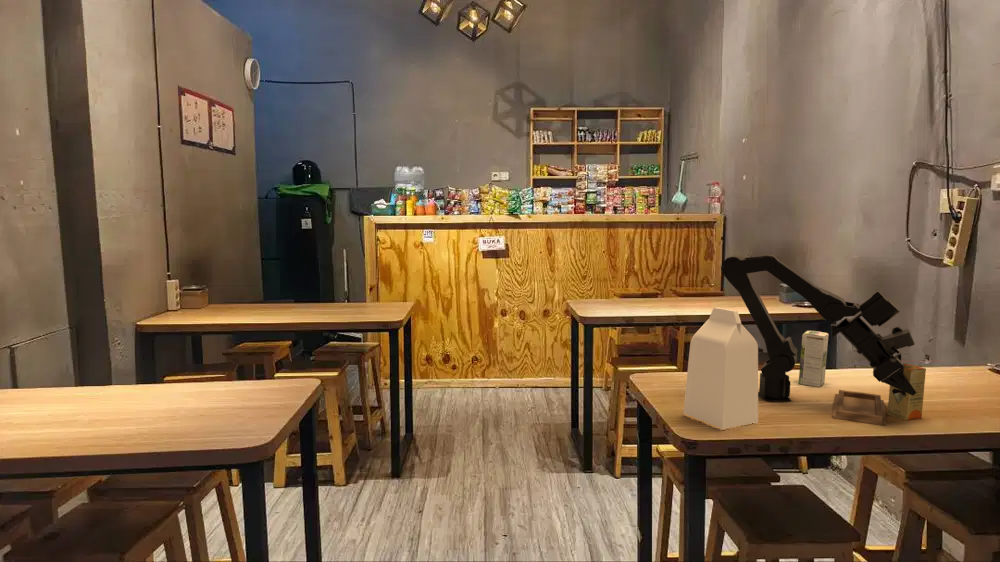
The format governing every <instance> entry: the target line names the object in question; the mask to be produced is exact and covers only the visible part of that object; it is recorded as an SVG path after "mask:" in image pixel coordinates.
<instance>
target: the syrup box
mask: <svg viewBox="0 0 1000 562" xmlns="http://www.w3.org/2000/svg"><path fill="white" fill-rule="evenodd" d="M829 336H830V335H829V333H828V332H822V331H818V330H817V331H816V330H806V331H805V332H804V333H802V335H801V337H802V338H801V349H800V358H799V359H800V362H799V375H798V384H799V385H803V386H804V385H805V386H809V387H817V388H821V387H822V386H823V385H824V384H825V381H826V369H827V368H826V367H827V358H828V357H827V355H828V345H829V344H828V342H829Z"/></svg>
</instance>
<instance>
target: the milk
mask: <svg viewBox="0 0 1000 562" xmlns="http://www.w3.org/2000/svg"><path fill="white" fill-rule="evenodd" d="M758 392H759V345H758V341H757V340H756V339H755V337H754V336H753V335H752V334H751V333H750V332H749V331H748V329H747V328H745V326H744V325H743V324H742V320H741V318H740V314H739V311H738V310H735V309H730V308H724V307H723V308H722V307H719V306H718V307H716V306H715V307H713V308H712V311H711V313H710V314H709V318H708V319H707V320H706V321H705V322H704V323H703V325H702V326H701V327H700V328H699V329H698V330H697V331H696V332H695V333H694V334H693V336H692V337H691V339H690V344H689V353H688V364H687V374H686V383H685V391H684V394H685V395H684V403H683V404H684V405H683V412H682V414H683V413H684V414H687V415H689V416H692V417H694V418H696V419H699V420H702V421H704V422H707V423H709V424H712V425H714V426H717V427H719V428H721V429H726V428H730V427H736V426H741V425H747V424H752V423H756V424H759V396H758ZM752 425H753V424H752Z"/></svg>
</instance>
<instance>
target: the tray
mask: <svg viewBox="0 0 1000 562" xmlns="http://www.w3.org/2000/svg"><path fill="white" fill-rule="evenodd" d="M831 418H832V419H838V420H844V421H851V422H856V423H864V424H870V425H871V424H872V425H879V426H887V421H886V420H887V419H886V410H885V400H884V399H882V398H881V394H875V393H866V392H860V391H852V390H844V389H838V393H834V400H833V407H832V414H831Z"/></svg>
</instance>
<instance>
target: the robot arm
mask: <svg viewBox="0 0 1000 562" xmlns="http://www.w3.org/2000/svg"><path fill="white" fill-rule="evenodd" d="M720 270H721V273H722V274H723V277H725V278H726V280H727V281H728V282H729V284H730V285H732V287H733V288H734V289H735V290H736V291H737V292H738V293H739V296H740V297H741V299H742V301H743V303H744V304H745V306H746V309H747V310H748V312H749V314H750V316H751V318H752V320H753V321H754V323H755V326H756V328H757V329H758V331H759V333H760V334H761V336H762V339H763V340H764V343H765V348H766V353H767V355H768V356H767V357H768V359H767V360H766V361H765V362H764V363H763V365H762V367H761V369H760V373H759V385H758V397H759V398H761V399H762V400H764V401H766V402H791V401H792V398H791V397H790V396H791V380H790V375H788V374H787V373H789V372H791V371H792V370H793V369H794V368H795V366H796V363H797V360H798V354H797V353H798V351H799V350H798V348H797V347H795V345H794V343H793V341H792V337H791V336H788V337H786V338H785V337H784V336H783V335H782V334H781V333H780V331H779V329H778V328H777V326H776V324H775V322H774V320H773V318H772V317H771V315H770V313H769V311H768V309H767V306H766V305H765V304H764V301H763V299H762V297H761V296H760V294H759V292H758V291H757V288H756V287H755V284H754V280H753V276H752V273H753V274H754V273H759V272H768V273H769V274H771V275H773V277H775V278H776V279H778V281H780V282H782V283H783V284H784V285H786V286H787V287H788V288H790V289H792V290H793V291H794V292H796V293H797V294H799V295H800V296H801V297H802V298H804V299H805V300H807V302H808V303H809V304H810V305H811V306H812V307H813V309H815V311H816V312H817V313H818V314H819V315H821V317H822V318H823V319H824V320H826V321H828V322H838V323H837V324H834V323H831V325H830V326H831V327H830V329H831V334H830V335H831V337H835V336H836V335H837V336H838V334H839V333H840V334H841V335H842V336H843V337H844V338H845V339H846V341H848V342H849V343H850V344H851V346H853V347H854V348H855V350H856V352H857V353H858V354H859V355H862V357H864V358H865V360H866V361H867V362H868V363H869V366H870V367H871V368H872V376H873V377H874V378H875V379H876V380H877V381H878V382H879V383H880V382H881V383H882V384H886V385H888V386H889V387H890V386H893V387H895V388H897V389H899V390H902V391H904V392H906V393H908V394H910V395H915V394H916V391H915V389H914V388H913V386H912V385H911V384H910V382H909V381H908V379H907V378H906V376H905V375H904V374H903V372H904V364H905V363H903V362H902V353H901V352H900V349H903V348H905V347H913V346H915V341H914V338H913V336H912V334H911V332H910V330H909V329H907V328H905V329H903V328H901V327H900V326H895V327H892V328H891V333H888V335H885V336H882V335H881V333H879V332H875V330H874V329H872V328H871V327H870V326H872V327H874V326H875V327H876V326H878V327H882V326H883V325H884V324H886V323H888V322H889V321H890V320H891V319H893V318H894V317H896V316H897V315H898V314H900V313H901V310H900V309H899V308H898V307H897V306H896V305H895V304H894V302H892V301H891V300H890V299H889V298H887V297H886V296H885V295H884V294H882V293H881V292H880V291H879V290H876V291H875V292H874V293H872V295H870V297H868V298H867V299H865V300H864V301H863V302H861V303H856V302H850V301H846V300H845V299H844V298H843V297H841V296H840V295H837V294H835V293H833V292H831V291H828V290H826V289H823V288H822V287H819V286H817V285H815V284H814V283H812V281H810V280H808V279H807V278H806V277H804V276H803V275H801V274H800V273H799V272H797V271H795V269H792V267H790V266H789V265H787V264H786V263H784V262H783V261H782V260H780V259H779V258H778V256H776V255H774V254H772V253H771V254H766V255H762V256H760V255H759V256H750V257H744V256H742V255H736V254H734V255H731V256H729V257H727V258H726V259H724V260H723V262H721V266H720ZM848 317H852V318H851V319H850V318H848ZM862 318H863V319H864V320H865V321H864V320H863V319H862ZM839 321H840V322H839ZM866 322H867V323H866ZM868 324H869V325H868ZM895 354H896V355H895Z"/></svg>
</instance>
